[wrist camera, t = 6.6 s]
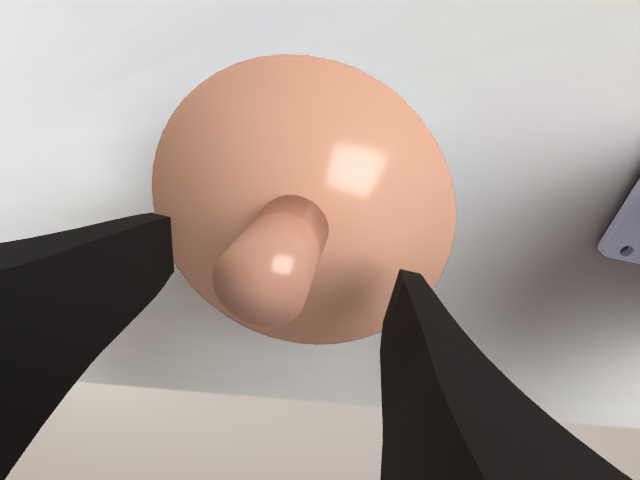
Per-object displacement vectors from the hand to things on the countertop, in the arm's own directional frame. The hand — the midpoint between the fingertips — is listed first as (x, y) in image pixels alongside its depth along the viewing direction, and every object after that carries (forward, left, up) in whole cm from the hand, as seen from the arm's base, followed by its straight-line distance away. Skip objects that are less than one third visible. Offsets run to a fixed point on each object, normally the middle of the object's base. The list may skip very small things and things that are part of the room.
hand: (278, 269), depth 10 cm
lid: (0, -1, -2) cm, 2 cm away
